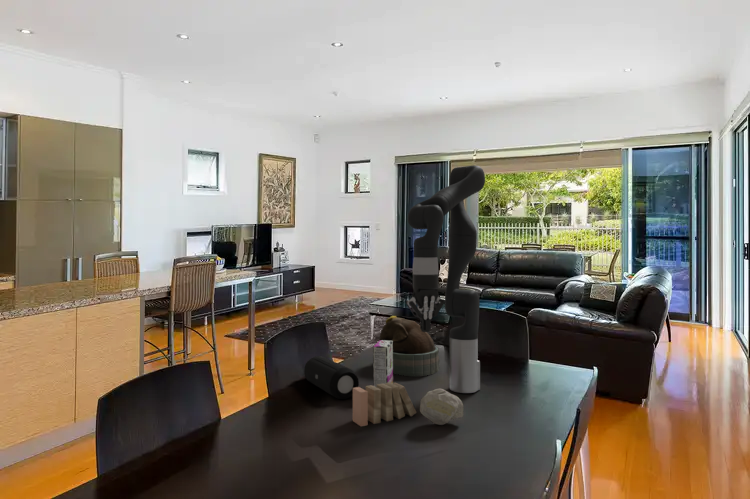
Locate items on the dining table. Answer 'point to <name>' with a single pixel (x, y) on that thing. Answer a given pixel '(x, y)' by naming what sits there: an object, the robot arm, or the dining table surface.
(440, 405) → the fossil replica
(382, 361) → the candy bar box
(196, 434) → the dining table surface
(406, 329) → the elephant in basket
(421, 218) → the robot arm
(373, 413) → the tile
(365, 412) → the tile
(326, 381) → the portable speaker
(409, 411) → the tile
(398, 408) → the tile
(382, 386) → the tile
